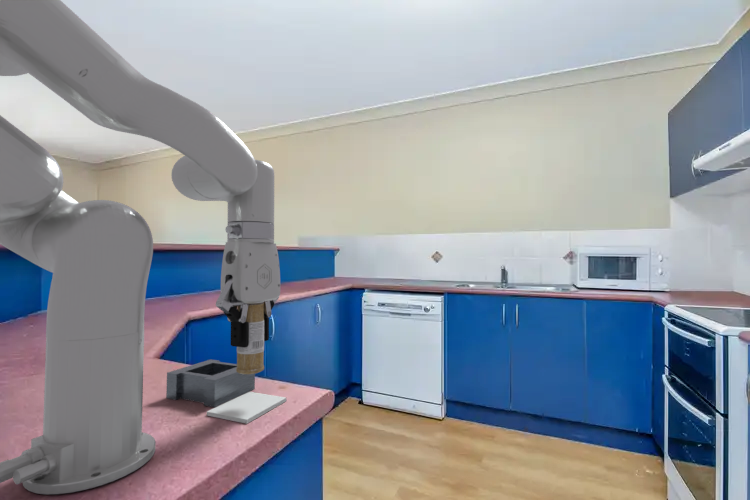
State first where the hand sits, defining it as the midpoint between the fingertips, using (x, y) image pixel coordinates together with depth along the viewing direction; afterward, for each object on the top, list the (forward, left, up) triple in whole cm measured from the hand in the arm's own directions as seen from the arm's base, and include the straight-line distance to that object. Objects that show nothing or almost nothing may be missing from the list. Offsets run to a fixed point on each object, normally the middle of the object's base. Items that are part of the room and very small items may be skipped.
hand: (250, 342), depth 63 cm
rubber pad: (0, 0, -11) cm, 11 cm away
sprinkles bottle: (0, 0, -5) cm, 5 cm away
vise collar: (+3, +11, -11) cm, 16 cm away
